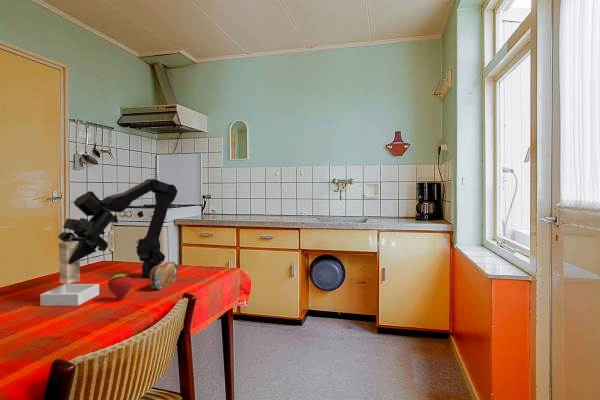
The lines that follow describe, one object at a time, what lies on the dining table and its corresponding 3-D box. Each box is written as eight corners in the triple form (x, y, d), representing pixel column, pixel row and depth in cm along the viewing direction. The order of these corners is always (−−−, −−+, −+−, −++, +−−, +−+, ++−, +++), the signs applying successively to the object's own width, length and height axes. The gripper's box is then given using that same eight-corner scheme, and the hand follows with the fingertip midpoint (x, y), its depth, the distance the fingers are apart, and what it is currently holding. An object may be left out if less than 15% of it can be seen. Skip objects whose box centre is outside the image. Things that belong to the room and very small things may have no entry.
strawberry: (128, 302, 112) (127, 271, 112) (104, 302, 112) (103, 271, 111) (136, 296, 118) (135, 267, 117) (113, 297, 117) (112, 267, 117)
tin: (155, 292, 123) (155, 268, 123) (147, 291, 124) (147, 267, 123) (178, 281, 138) (178, 259, 137) (171, 280, 138) (171, 259, 138)
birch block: (72, 279, 117) (71, 240, 117) (80, 280, 116) (79, 241, 115) (59, 282, 114) (58, 242, 113) (67, 283, 112) (66, 243, 111)
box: (99, 294, 120) (99, 284, 120) (78, 305, 109) (77, 294, 109) (65, 294, 120) (65, 284, 120) (40, 305, 109) (40, 294, 109)
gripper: (63, 208, 121) (28, 245, 112) (98, 210, 113) (64, 250, 104) (86, 228, 129) (55, 264, 119) (121, 231, 121) (90, 270, 111)
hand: (65, 262), depth 113 cm, fingers closed on birch block, 4 cm apart
